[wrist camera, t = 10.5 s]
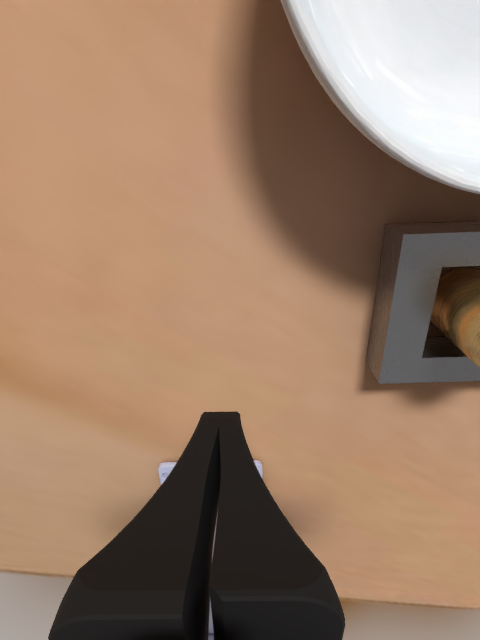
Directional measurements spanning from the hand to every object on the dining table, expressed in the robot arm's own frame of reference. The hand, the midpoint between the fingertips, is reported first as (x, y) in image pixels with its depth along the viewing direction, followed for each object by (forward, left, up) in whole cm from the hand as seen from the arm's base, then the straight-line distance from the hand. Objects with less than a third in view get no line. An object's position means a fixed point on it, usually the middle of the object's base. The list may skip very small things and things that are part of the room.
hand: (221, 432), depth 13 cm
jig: (+1, -14, -10) cm, 17 cm away
